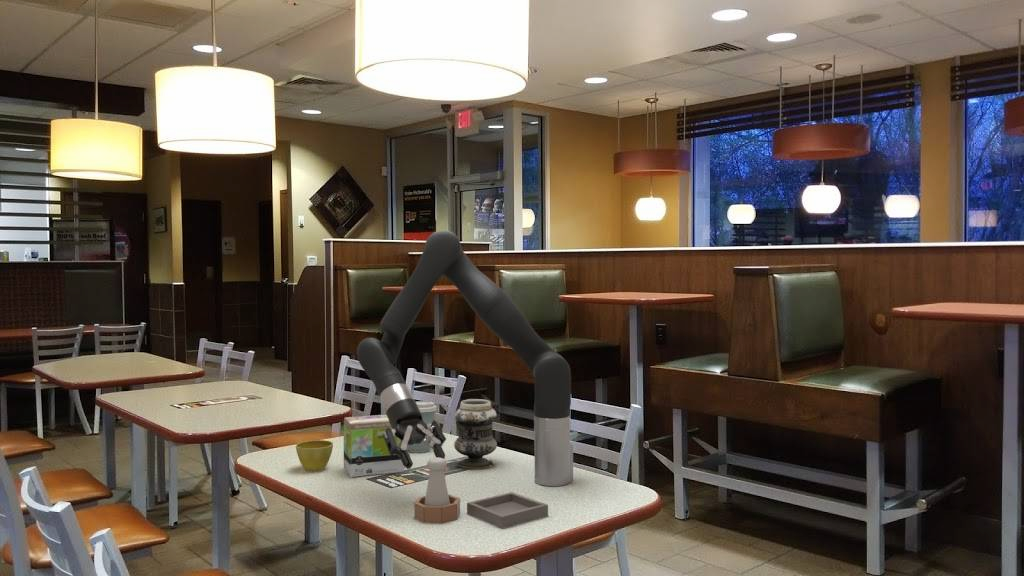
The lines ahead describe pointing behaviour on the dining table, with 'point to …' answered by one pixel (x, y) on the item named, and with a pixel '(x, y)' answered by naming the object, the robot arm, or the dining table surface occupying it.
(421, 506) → the cup ring
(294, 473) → the dining table surface
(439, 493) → the salt shaker
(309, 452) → the flower pot
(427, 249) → the robot arm
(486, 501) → the tray
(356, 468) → the tea box
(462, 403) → the apothecary jar
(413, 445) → the disposable coffee cup
